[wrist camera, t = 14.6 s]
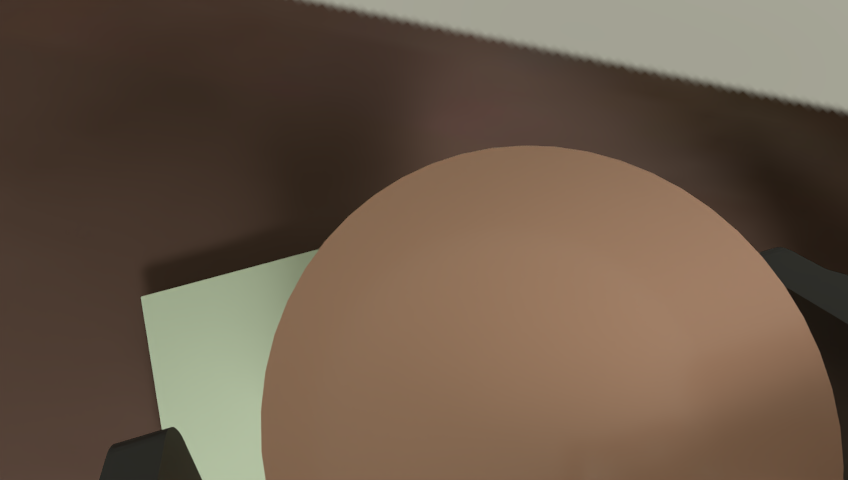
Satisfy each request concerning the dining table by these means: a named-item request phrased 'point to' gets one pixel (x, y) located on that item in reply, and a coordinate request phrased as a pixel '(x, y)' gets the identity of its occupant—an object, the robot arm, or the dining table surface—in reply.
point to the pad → (219, 361)
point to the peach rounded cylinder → (543, 336)
